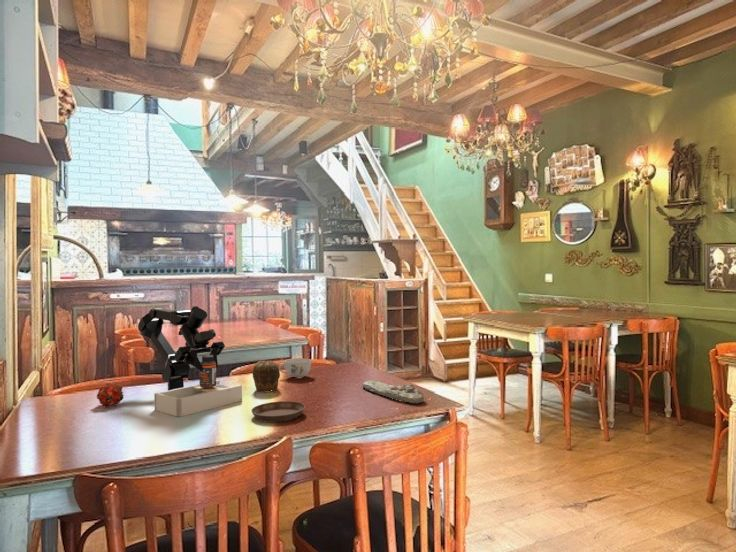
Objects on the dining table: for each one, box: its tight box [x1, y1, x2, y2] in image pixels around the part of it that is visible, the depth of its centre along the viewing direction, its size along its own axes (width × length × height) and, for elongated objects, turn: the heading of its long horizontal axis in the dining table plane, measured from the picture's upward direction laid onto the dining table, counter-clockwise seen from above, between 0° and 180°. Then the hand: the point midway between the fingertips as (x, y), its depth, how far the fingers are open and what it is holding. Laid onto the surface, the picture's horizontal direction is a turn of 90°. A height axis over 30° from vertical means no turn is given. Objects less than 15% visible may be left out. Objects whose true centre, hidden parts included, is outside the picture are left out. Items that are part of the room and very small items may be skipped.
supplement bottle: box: [198, 354, 217, 388], centre depth 185 cm, size 6×6×11 cm
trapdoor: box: [193, 384, 230, 392], centre depth 186 cm, size 12×9×3 cm
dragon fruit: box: [96, 382, 125, 408], centre depth 183 cm, size 8×8×12 cm
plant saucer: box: [250, 400, 306, 423], centre depth 167 cm, size 18×18×3 cm
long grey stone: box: [361, 380, 425, 404], centre depth 193 cm, size 35×5×10 cm
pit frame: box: [153, 379, 243, 418], centre depth 182 cm, size 15×26×6 cm, turn 142°
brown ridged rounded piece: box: [252, 360, 281, 392], centre depth 204 cm, size 11×11×12 cm
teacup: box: [278, 357, 313, 378], centre depth 228 cm, size 15×12×8 cm
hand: (209, 368), depth 184 cm, fingers closed on supplement bottle, 6 cm apart
